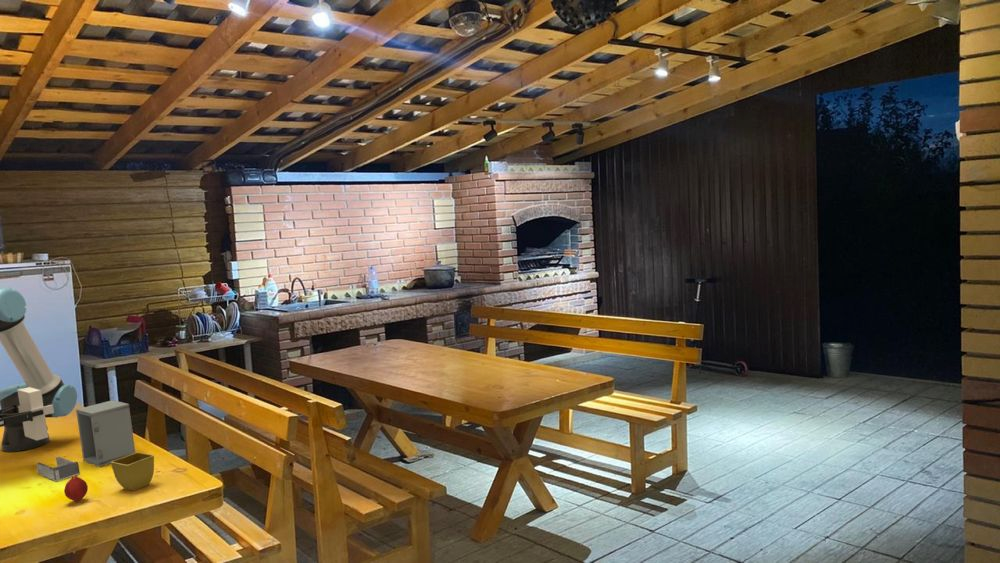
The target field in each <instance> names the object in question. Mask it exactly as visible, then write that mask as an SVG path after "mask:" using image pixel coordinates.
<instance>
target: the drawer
mask: <svg viewBox="0 0 1000 563" xmlns="http://www.w3.org/2000/svg"><path fill="white" fill-rule="evenodd" d="M55 461H56V466H54V467H53V466H50V465H47V464H44V463H42V462H36V463H35V464H36V472H37V474H38V475H40V476H42V477H43V478H47V479H49V480H52V481H54V482H56V483H57V482H61V481H64V480H66V478H67V479H69V477H70V478H71V477H72V476H73V475H77V476H79V475H78V474H80V475H81V472H80V467H79V466H80V465H79V462H78V461H72V460H70V459H67V458H63V457H61V456H57V457H55ZM63 479H64V480H63ZM60 480H61V481H60Z"/></svg>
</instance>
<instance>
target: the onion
mask: <svg viewBox="0 0 1000 563" xmlns="http://www.w3.org/2000/svg"><path fill="white" fill-rule="evenodd" d="M88 488H89V486H88V484H87V482H86V481H85V480H84V479H83V478H81V477H78V475H77V476H75V475H73V476H72V477H70V479H69V480H68V481H67V482H66V484H65V486H64V495H65V497H66V498H67V499H69V500H70V501H73V502H75V503H79V502H81V500H83V499H84V497H85V496H86V495H87V492H88Z"/></svg>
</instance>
